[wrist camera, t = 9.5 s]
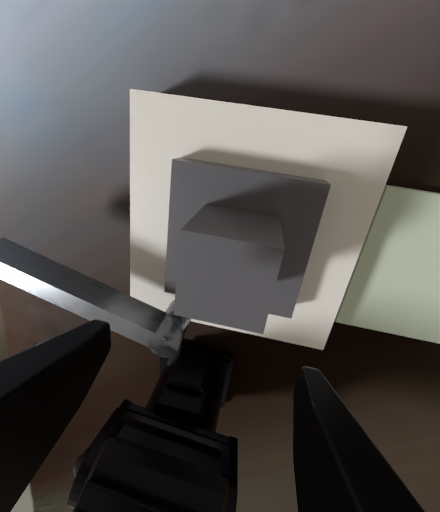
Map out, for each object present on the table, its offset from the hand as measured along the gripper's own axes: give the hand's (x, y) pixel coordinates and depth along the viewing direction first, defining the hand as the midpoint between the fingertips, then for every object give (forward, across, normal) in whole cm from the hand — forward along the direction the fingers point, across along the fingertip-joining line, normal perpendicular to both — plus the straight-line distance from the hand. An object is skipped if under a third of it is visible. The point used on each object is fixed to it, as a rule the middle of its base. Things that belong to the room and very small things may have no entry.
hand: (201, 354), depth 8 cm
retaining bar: (+10, +8, +4) cm, 14 cm away
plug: (+13, 0, 0) cm, 13 cm away
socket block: (+13, 0, 0) cm, 13 cm away
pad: (+13, -13, +1) cm, 18 cm away
